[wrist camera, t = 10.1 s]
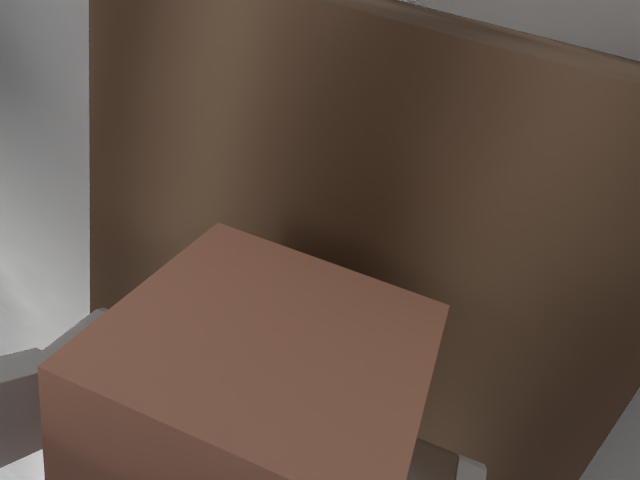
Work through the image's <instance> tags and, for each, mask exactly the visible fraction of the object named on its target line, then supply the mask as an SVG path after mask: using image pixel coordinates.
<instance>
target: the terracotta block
mask: <svg viewBox="0 0 640 480" xmlns="http://www.w3.org/2000/svg"><path fill="white" fill-rule="evenodd" d="M449 306H450V305H447V304H445V303H442V302H439V301H436V300H433V299H431V298H428V297H425V296H422V295H419V294H417V293H414V292H411V291H408V290H405V289H403V288H400V287H397V286H394V285H392V284H389V283H386V282H383V281H380V280H378V279H375V278H372V277H369V276H366V275H364V274H361V273H358V272H355V271H352V270H350V269H347V268H344V267H341V266H338V265H336V264H333V263H330V262H327V261H324V260H322V259H319V258H316V257H313V256H310V255H308V254H305V253H302V252H299V251H296V250H294V249H291V248H288V247H285V246H282V245H280V244H277V243H274V242H271V241H269V240H266V239H263V238H260V237H257V236H255V235H252V234H249V233H246V232H243V231H241V230H238V229H235V228H232V227H229V226H227V225H224V224H221V223H217V224H215V225H214V226H213V227H212V228H210V229H209V230H208V231H207V232H205V233H204V234H203V235H202V236H200V237H199V238H198V239H197V240H195V241H194V242H193V243H192V244H190V245H189V246H188V247H187V248H185V249H184V250H183V251H182V252H180V253H179V254H178V255H177V256H175V257H174V258H173V259H171V260H170V261H169V262H168V263H166V264H165V265H164V266H163V267H161V268H160V269H159V270H158V271H156V272H155V273H154V274H153V275H151V276H150V277H149V278H148V279H146V280H145V281H144V282H143V283H141V284H140V285H139V286H138V287H136V288H135V289H134V290H133V291H131V292H130V293H129V294H128V295H126V296H125V297H124V298H123V299H121V300H120V301H119V302H118V303H116V304H115V305H114V306H112V307H111V308H110V309H109V310H107V311H106V312H105V313H104V314H102V315H101V316H100V317H99V318H97V319H96V320H95V321H94V322H92V323H91V324H90V325H89V326H87V327H86V328H85V329H84V330H82V331H81V332H80V333H79V334H77V335H76V336H75V337H74V338H72V339H71V340H70V341H69V342H67V343H66V344H65V345H64V346H62V347H61V348H60V349H59V350H57V351H56V352H55V353H53V354H52V355H51V356H50V357H48V358H47V359H46V360H45V361H43V362H42V363H41V364H40V365H38V366H37V370H38V384H39V399H40V414H41V428H42V443H43V457H44V472H45V480H406V478H407V474H408V470H409V466H410V462H411V458H412V454H413V450H414V446H415V442H416V438H417V434H418V430H419V426H420V422H421V418H422V414H423V410H424V406H425V402H426V398H427V394H428V390H429V386H430V382H431V378H432V374H433V370H434V366H435V362H436V358H437V354H438V350H439V346H440V342H441V338H442V334H443V330H444V326H445V322H446V318H447V314H448V310H449Z"/></svg>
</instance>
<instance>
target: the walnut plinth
mask: <svg viewBox="0 0 640 480" xmlns="http://www.w3.org/2000/svg"><path fill="white" fill-rule="evenodd" d="M89 105H90V314H91V313H92V312H93V311H94V310H96V309H100V308H106V309H108V310H109V309H110V308H111V307H112V306H114V305H115V304H116V303H118V302H119V301H120V300H121V299H123V298H124V297H125V296H126V295H128V294H129V293H130V292H131V291H133V290H134V289H135V288H136V287H138V286H139V285H140V284H141V283H143V282H144V281H145V280H146V279H148V278H149V277H150V276H151V275H153V274H154V273H155V272H156V271H158V270H159V269H160V268H161V267H163V266H164V265H165V264H166V263H168V262H169V261H170V260H171V259H173V258H174V257H175V256H177V255H178V254H179V253H180V252H182V251H183V250H184V249H185V248H187V247H188V246H189V245H190V244H192V243H193V242H194V241H195V240H197V239H198V238H199V237H200V236H202V235H203V234H204V233H205V232H207V231H208V230H209V229H210V228H212V227H213V226H214V225H215V224H217V223H221V224H224V225H227V226H229V227H232V228H235V229H238V230H241V231H243V232H246V233H249V234H252V235H255V236H257V237H260V238H263V239H266V240H269V241H271V242H274V243H277V244H280V245H282V246H285V247H288V248H291V249H294V250H296V251H299V252H302V253H305V254H308V255H310V256H313V257H316V258H319V259H322V260H324V261H327V262H330V263H333V264H336V265H338V266H341V267H344V268H347V269H350V270H352V271H355V272H358V273H361V274H364V275H366V276H369V277H372V278H375V279H378V280H380V281H383V282H386V283H389V284H392V285H394V286H397V287H400V288H403V289H405V290H408V291H411V292H414V293H417V294H419V295H422V296H425V297H428V298H431V299H433V300H436V301H439V302H442V303H445V304H447V305H450V306H449V310H448V314H447V318H446V322H445V326H444V330H443V334H442V338H441V342H440V346H439V350H438V354H437V358H436V362H435V366H434V370H433V374H432V378H431V382H430V386H429V390H428V394H427V398H426V402H425V406H424V410H423V414H422V418H421V422H420V426H419V430H418V434H417V438H420V439H422V440H425V441H427V442H430V443H432V444H435V445H437V446H440V447H442V448H445V449H447V450H450V451H452V452H455V453H457V455H458V454H460V455H463V456H465V457H468V458H470V459H473V460H475V461H478V462H480V463H483V464H485V466H486V469H487V473H486V480H579V478H580V477H581V475H582V474H583V472H584V470H585V469H586V467H587V466H588V464H589V463H590V461H591V460H592V458H593V457H594V455H595V454H596V452H597V451H598V449H599V448H600V446H601V445H602V443H603V442H604V440H605V439H606V437H607V436H608V434H609V433H610V431H611V429H612V428H613V426H614V425H615V423H616V422H617V420H618V419H619V417H620V416H621V414H622V413H623V411H624V410H625V408H626V407H627V405H628V404H629V402H630V401H631V399H632V398H633V396H634V395H635V393H636V392H637V390H638V388H639V387H640V62H638V61H634V60H630V59H626V58H622V57H618V56H614V55H611V54H607V53H603V52H599V51H595V50H591V49H587V48H583V47H579V46H575V45H571V44H567V43H563V42H559V41H555V40H551V39H548V38H544V37H540V36H536V35H532V34H528V33H524V32H520V31H516V30H512V29H508V28H504V27H500V26H496V25H492V24H489V23H485V22H481V21H477V20H473V19H469V18H465V17H461V16H457V15H453V14H449V13H445V12H441V11H437V10H433V9H430V8H426V7H422V6H418V5H414V4H410V3H406V2H402V1H398V0H89Z"/></svg>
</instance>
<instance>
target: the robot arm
mask: <svg viewBox="0 0 640 480" xmlns="http://www.w3.org/2000/svg"><path fill="white" fill-rule="evenodd" d="M107 310H108V309H106V308H100V309H96V310H94V311H93V312H92V313H91V314H89V315H88V316H87V317H85V318H84V319H83V320H81V321H80V322H79V323H78V324H76V325H75V326H74V327H72V328H71V329H70V330H68V331H67V332H66V333H64V334H63V335H62V336H61V337H59V338H58V339H57V340H55V341H54V342H53V343H51V344H50V345H49V346H48V347H46V348H45V349H44V350H40V349H38V348H34V349H29V350H25V351H21V352H17V353H13V354H9V355H4V356H0V468H1V467H3V466H5V465H8V464H10V463H12V462H14V461H16V460H19V459H21V458H23V457H25V456H27V455H30V454H32V453H34V452H36V451H39V450H41V449H43V443H42V428H41V414H40V399H39V384H38V370H37V366H38V365H40V364H41V363H42V362H43V361H45V360H46V359H47V358H48V357H50V356H51V355H52V354H53V353H55V352H56V351H57V350H59V349H60V348H61V347H62V346H64V345H65V344H66V343H67V342H69V341H70V340H71V339H72V338H74V337H75V336H76V335H77V334H79V333H80V332H81V331H82V330H84V329H85V328H86V327H87V326H89V325H90V324H91V323H92V322H94V321H95V320H96V319H97V318H99V317H100V316H101V315H102V314H104V313H105V312H106V311H107ZM486 473H487V469H486V466H485V464H483V463H480V462H478V461H475V460H473V459H470V458H468V457H465V456H463V455H460V454H458V455H457V453H455V452H452V451H450V450H447V449H445V448H442V447H440V446H437V445H435V444H432V443H430V442H427V441H425V440H422V439H420V438H416V442H415V446H414V450H413V454H412V458H411V462H410V466H409V470H408V474H407V478H406V480H486Z"/></svg>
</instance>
